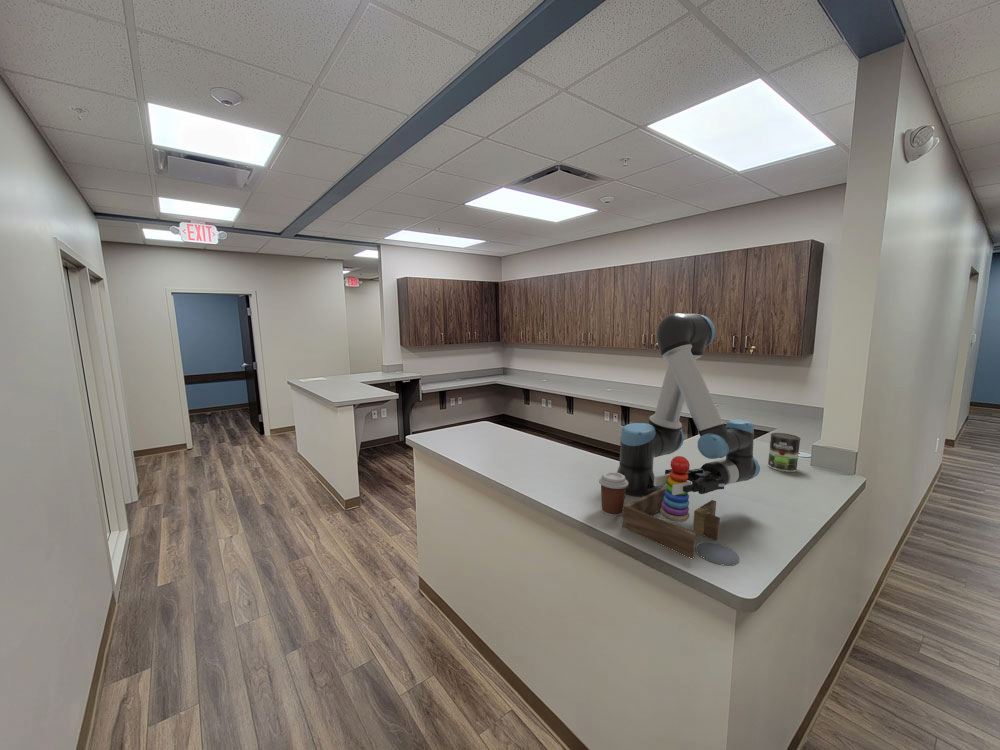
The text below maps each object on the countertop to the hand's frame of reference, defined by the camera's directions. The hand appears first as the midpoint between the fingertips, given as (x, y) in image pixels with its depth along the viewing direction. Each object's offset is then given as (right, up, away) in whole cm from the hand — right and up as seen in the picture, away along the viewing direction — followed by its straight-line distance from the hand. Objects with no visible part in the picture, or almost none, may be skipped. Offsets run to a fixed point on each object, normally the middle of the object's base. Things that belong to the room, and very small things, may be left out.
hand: (663, 485), depth 114 cm
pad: (+10, -15, -10) cm, 21 cm away
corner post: (+11, -14, +1) cm, 18 cm away
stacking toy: (+5, -10, +4) cm, 12 cm away
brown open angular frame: (+6, -14, +4) cm, 15 cm away
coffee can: (+74, -8, +56) cm, 93 cm away
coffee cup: (-11, -12, +14) cm, 21 cm away
